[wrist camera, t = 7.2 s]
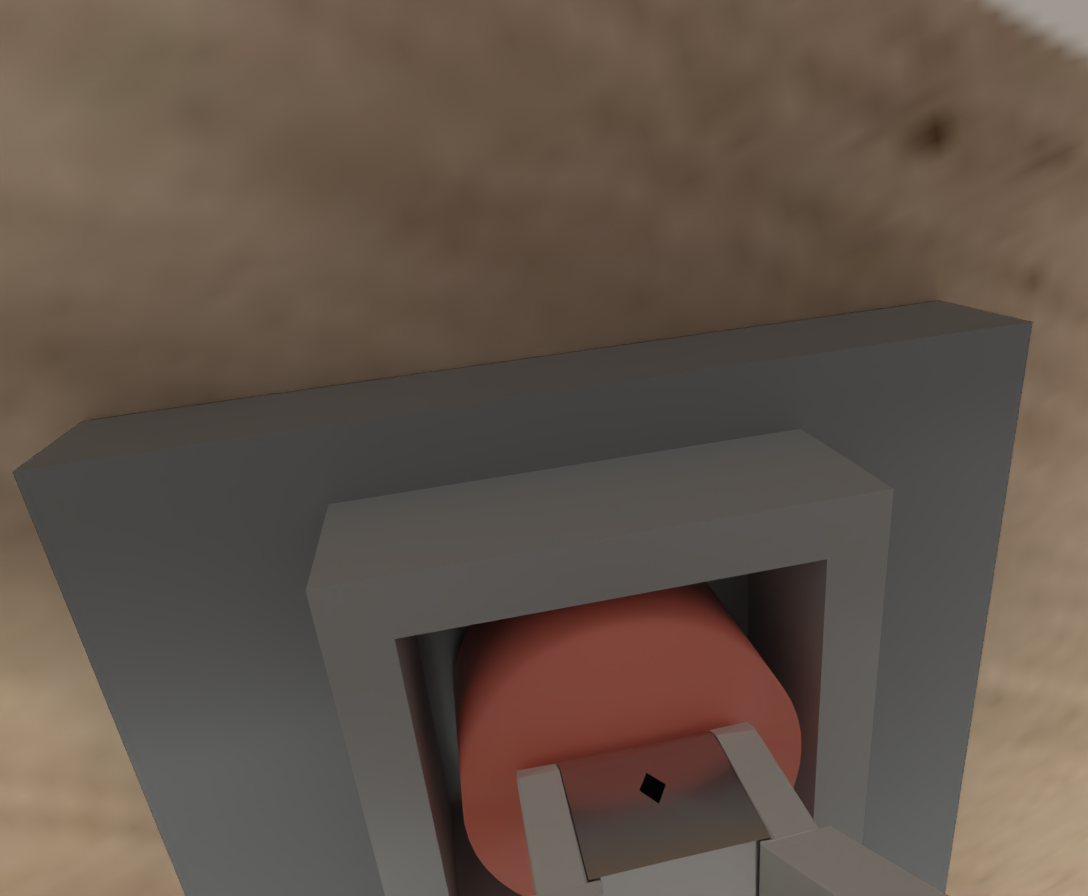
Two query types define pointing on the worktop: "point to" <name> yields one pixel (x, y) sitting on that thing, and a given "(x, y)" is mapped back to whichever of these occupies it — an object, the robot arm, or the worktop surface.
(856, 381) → the button panel
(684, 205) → the worktop surface
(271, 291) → the worktop surface
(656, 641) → the red button
